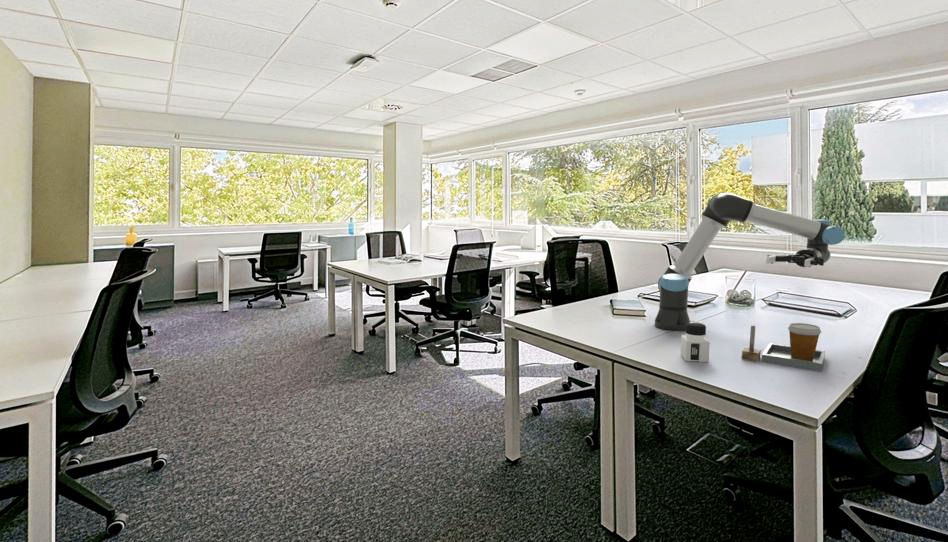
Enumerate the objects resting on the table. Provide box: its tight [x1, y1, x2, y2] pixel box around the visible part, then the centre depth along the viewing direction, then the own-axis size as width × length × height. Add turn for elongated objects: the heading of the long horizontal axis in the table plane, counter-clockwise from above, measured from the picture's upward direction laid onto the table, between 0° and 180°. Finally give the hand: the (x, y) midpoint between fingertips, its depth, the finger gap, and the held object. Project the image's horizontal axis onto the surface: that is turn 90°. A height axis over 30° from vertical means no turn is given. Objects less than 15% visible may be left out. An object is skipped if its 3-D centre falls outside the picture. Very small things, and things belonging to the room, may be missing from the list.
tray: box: [761, 342, 826, 372], centre depth 167 cm, size 17×17×3 cm
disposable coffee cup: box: [787, 322, 822, 361], centre depth 165 cm, size 10×10×12 cm
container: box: [680, 321, 711, 363], centre depth 169 cm, size 8×8×13 cm
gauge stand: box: [741, 324, 761, 362], centre depth 168 cm, size 5×5×12 cm
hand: (785, 261), depth 187 cm, fingers open, 13 cm apart
